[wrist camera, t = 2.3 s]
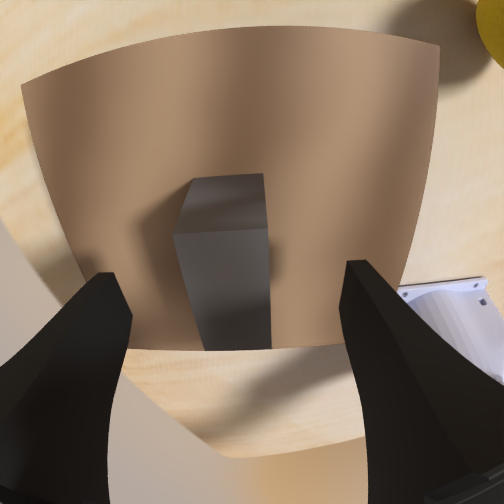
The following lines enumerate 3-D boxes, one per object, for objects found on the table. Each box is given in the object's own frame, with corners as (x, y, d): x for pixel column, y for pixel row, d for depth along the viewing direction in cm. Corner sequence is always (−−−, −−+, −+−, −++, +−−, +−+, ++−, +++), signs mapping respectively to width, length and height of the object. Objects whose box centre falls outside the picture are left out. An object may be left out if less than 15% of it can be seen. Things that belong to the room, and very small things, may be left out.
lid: (428, 44, 8) (506, 57, 4) (376, 328, 17) (395, 391, 13) (32, 81, 8) (-44, 111, 5) (125, 337, 17) (108, 398, 14)
